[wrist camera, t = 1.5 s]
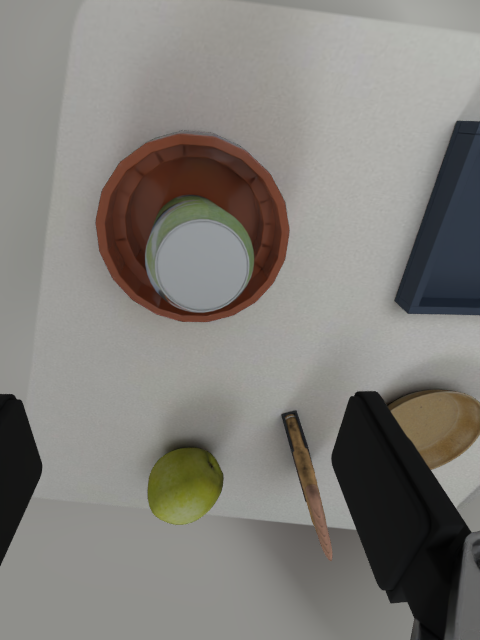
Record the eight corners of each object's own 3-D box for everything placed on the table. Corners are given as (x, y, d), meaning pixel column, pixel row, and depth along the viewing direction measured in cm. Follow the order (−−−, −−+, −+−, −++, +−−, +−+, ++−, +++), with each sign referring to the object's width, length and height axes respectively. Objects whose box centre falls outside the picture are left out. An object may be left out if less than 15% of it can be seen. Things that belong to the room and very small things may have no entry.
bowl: (102, 123, 24) (82, 125, 20) (286, 138, 26) (303, 143, 21) (121, 292, 31) (108, 320, 26) (265, 295, 32) (275, 323, 28)
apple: (135, 454, 42) (122, 520, 35) (195, 421, 40) (194, 484, 33) (175, 483, 46) (171, 548, 39) (232, 454, 44) (238, 517, 37)
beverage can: (147, 252, 29) (118, 327, 19) (170, 162, 25) (151, 194, 15) (217, 274, 30) (227, 355, 20) (248, 192, 27) (278, 240, 17)
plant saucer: (373, 471, 49) (381, 488, 47) (342, 408, 41) (350, 425, 39) (476, 432, 47) (490, 448, 44) (463, 358, 39) (479, 372, 37)
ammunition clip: (309, 463, 46) (340, 562, 36) (296, 467, 46) (323, 567, 36) (296, 410, 41) (328, 509, 31) (281, 414, 41) (308, 514, 31)
